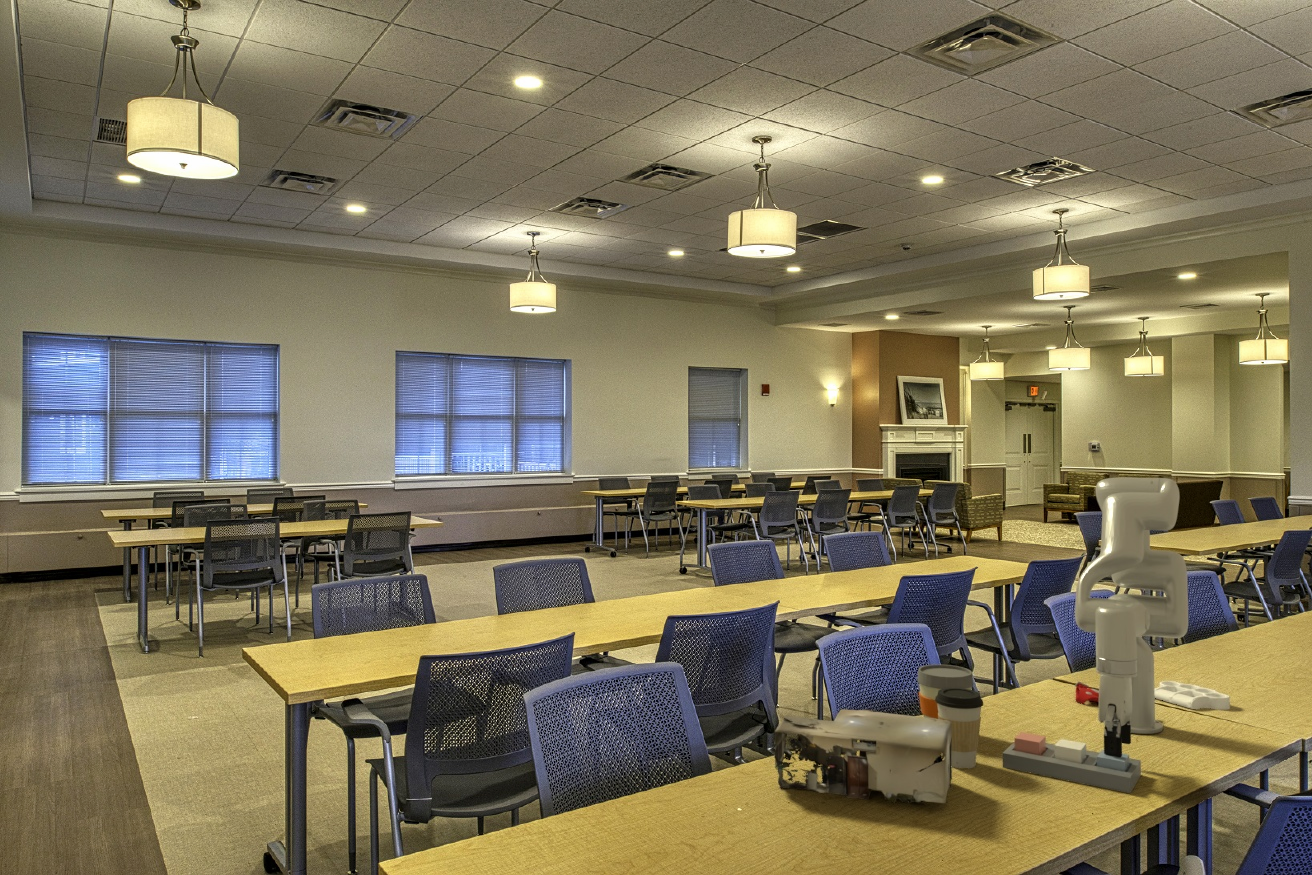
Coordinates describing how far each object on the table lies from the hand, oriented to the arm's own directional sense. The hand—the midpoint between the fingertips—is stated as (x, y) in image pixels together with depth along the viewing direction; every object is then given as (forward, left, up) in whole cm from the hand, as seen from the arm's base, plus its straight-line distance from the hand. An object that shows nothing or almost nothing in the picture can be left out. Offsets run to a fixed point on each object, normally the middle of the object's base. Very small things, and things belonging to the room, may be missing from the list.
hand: (1117, 749), depth 182 cm
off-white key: (+5, -8, -3) cm, 10 cm away
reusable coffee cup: (-3, -37, -5) cm, 37 cm away
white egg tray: (-67, +5, -6) cm, 68 cm away
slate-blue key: (+5, 0, -4) cm, 6 cm away
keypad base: (+5, -8, -5) cm, 10 cm away
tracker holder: (-54, -16, -5) cm, 56 cm away
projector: (+40, -37, -5) cm, 54 cm away
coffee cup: (+14, -28, -5) cm, 32 cm away
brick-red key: (+5, -16, -3) cm, 17 cm away
